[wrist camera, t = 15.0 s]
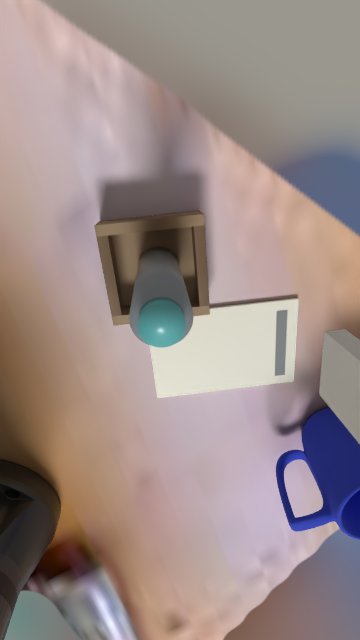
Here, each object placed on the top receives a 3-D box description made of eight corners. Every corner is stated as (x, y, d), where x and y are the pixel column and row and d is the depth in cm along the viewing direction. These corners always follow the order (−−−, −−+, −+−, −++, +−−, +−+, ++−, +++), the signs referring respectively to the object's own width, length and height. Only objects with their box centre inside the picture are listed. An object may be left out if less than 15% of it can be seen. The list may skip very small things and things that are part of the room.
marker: (142, 289, 28) (136, 361, 17) (134, 250, 27) (120, 301, 16) (181, 282, 28) (200, 349, 17) (175, 243, 27) (190, 288, 16)
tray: (116, 313, 29) (113, 325, 27) (100, 221, 26) (94, 225, 24) (205, 303, 30) (209, 314, 27) (199, 210, 26) (203, 214, 24)
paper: (157, 396, 33) (157, 398, 33) (145, 315, 30) (145, 316, 29) (292, 379, 34) (294, 381, 33) (297, 297, 30) (298, 299, 30)
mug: (249, 426, 36) (282, 511, 27) (356, 385, 35) (429, 460, 25) (270, 474, 39) (306, 565, 30) (369, 439, 38) (438, 522, 29)
